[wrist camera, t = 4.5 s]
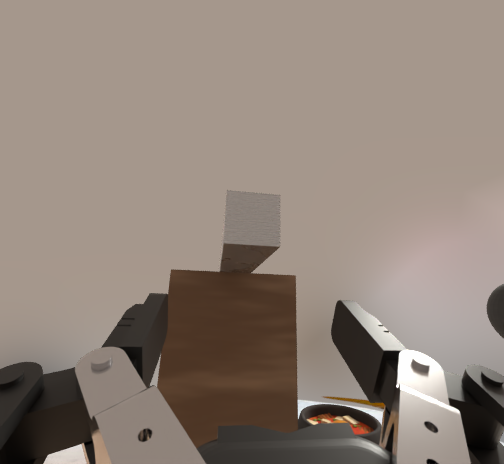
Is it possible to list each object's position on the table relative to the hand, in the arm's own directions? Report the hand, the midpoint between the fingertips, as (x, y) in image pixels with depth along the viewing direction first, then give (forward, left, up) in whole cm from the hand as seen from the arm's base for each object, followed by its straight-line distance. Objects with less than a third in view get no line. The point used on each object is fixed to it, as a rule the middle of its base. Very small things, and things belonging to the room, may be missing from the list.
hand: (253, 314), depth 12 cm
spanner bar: (-13, -11, +4) cm, 17 cm away
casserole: (-48, -9, -29) cm, 57 cm away
